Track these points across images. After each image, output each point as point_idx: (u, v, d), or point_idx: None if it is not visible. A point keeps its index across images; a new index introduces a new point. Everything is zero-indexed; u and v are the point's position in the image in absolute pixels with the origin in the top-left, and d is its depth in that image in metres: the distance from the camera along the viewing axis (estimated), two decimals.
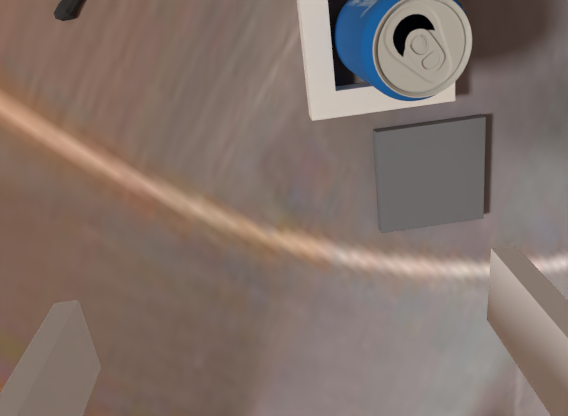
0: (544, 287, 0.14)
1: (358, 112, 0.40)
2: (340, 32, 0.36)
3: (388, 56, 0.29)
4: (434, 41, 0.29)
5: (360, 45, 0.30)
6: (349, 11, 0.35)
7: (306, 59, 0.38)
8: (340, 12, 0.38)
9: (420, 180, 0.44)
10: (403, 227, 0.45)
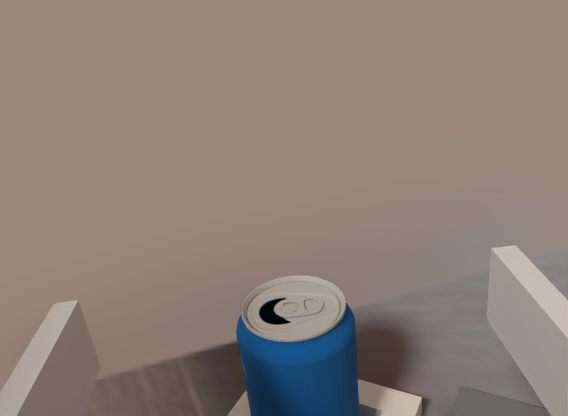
0: (544, 287, 0.14)
1: None
2: None
3: (281, 330, 0.26)
4: (296, 299, 0.29)
5: (260, 361, 0.26)
6: None
7: None
8: None
9: None
10: None
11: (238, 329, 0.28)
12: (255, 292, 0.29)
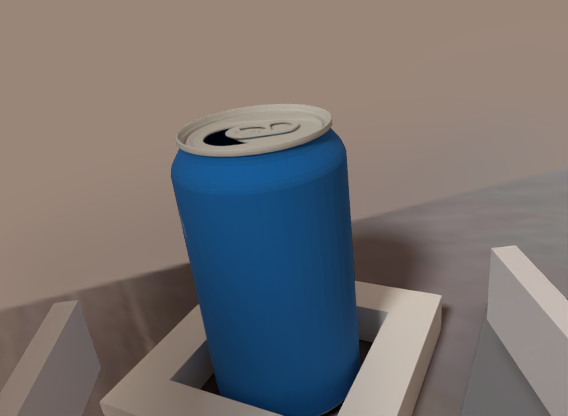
0: (544, 287, 0.14)
1: (395, 410, 0.19)
2: (227, 357, 0.20)
3: (233, 148, 0.17)
4: (259, 124, 0.19)
5: (200, 195, 0.17)
6: (205, 328, 0.21)
7: None
8: (219, 389, 0.22)
9: None
10: None
11: (172, 164, 0.19)
12: (201, 123, 0.20)
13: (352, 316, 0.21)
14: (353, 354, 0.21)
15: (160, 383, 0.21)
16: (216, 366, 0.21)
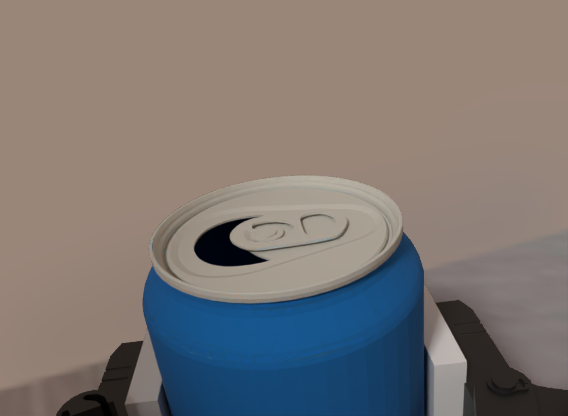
0: None
1: None
2: None
3: (243, 278, 0.10)
4: (282, 216, 0.12)
5: (188, 359, 0.10)
6: None
7: None
8: None
9: None
10: None
11: (146, 285, 0.12)
12: (193, 208, 0.13)
13: None
14: None
15: None
16: None
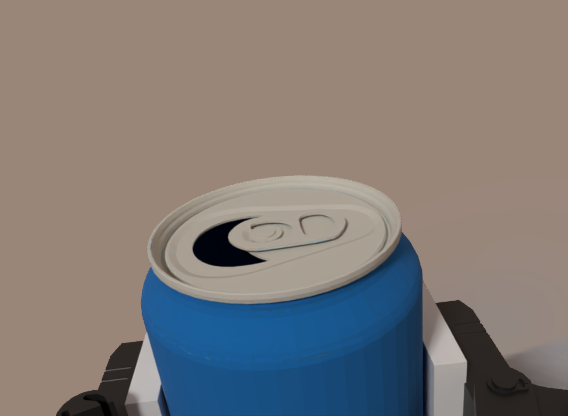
0: None
1: None
2: None
3: (241, 278, 0.10)
4: (281, 216, 0.12)
5: (186, 360, 0.10)
6: None
7: None
8: None
9: None
10: None
11: (144, 285, 0.12)
12: (191, 208, 0.13)
13: None
14: None
15: None
16: None
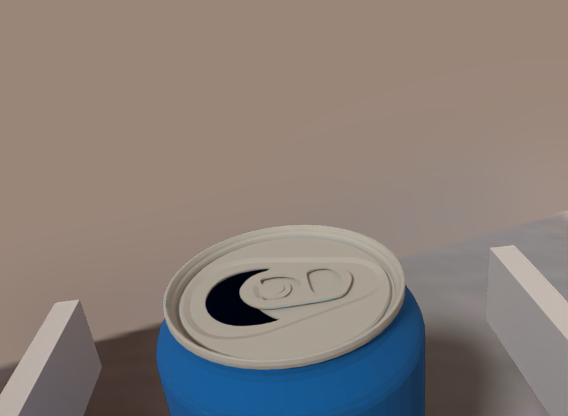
0: (542, 287, 0.14)
1: None
2: None
3: (253, 340, 0.11)
4: (289, 270, 0.13)
5: None
6: None
7: None
8: None
9: None
10: None
11: (159, 339, 0.12)
12: (202, 259, 0.14)
13: None
14: None
15: None
16: None
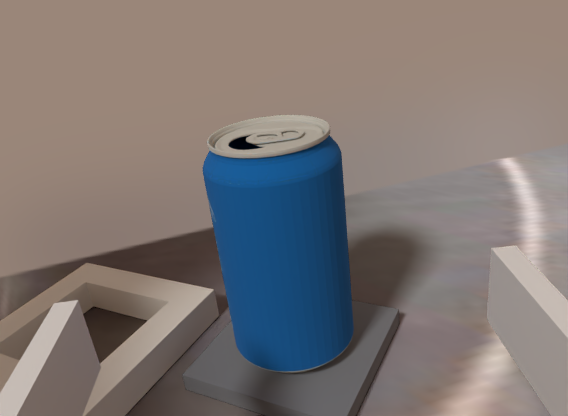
0: (544, 287, 0.14)
1: (129, 369, 0.27)
2: (246, 317, 0.25)
3: (253, 151, 0.22)
4: (272, 132, 0.24)
5: (228, 187, 0.22)
6: (228, 296, 0.26)
7: None
8: (238, 346, 0.27)
9: None
10: (352, 393, 0.25)
11: (204, 163, 0.24)
12: (225, 131, 0.25)
13: (346, 286, 0.26)
14: (347, 317, 0.26)
15: None
16: (236, 327, 0.26)
